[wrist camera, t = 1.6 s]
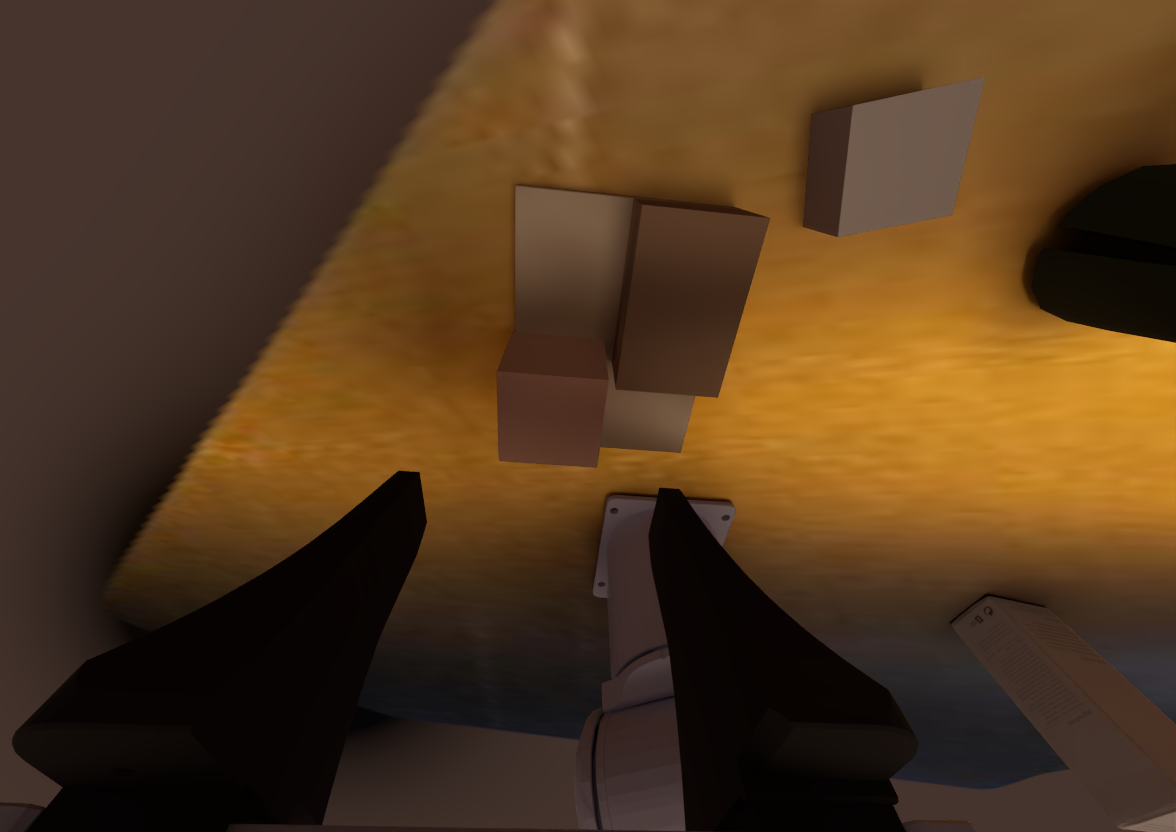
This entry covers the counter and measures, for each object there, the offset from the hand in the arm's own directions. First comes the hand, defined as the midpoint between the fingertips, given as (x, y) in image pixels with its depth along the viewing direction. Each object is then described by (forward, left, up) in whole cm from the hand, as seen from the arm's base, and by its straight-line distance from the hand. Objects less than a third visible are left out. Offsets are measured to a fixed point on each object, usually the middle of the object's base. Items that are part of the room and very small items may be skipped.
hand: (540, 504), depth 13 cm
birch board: (+2, -3, -10) cm, 10 cm away
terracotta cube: (0, 0, -9) cm, 9 cm away
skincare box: (-18, -36, -10) cm, 41 cm away
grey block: (+10, -12, -10) cm, 18 cm away
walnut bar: (+4, -5, -10) cm, 12 cm away
